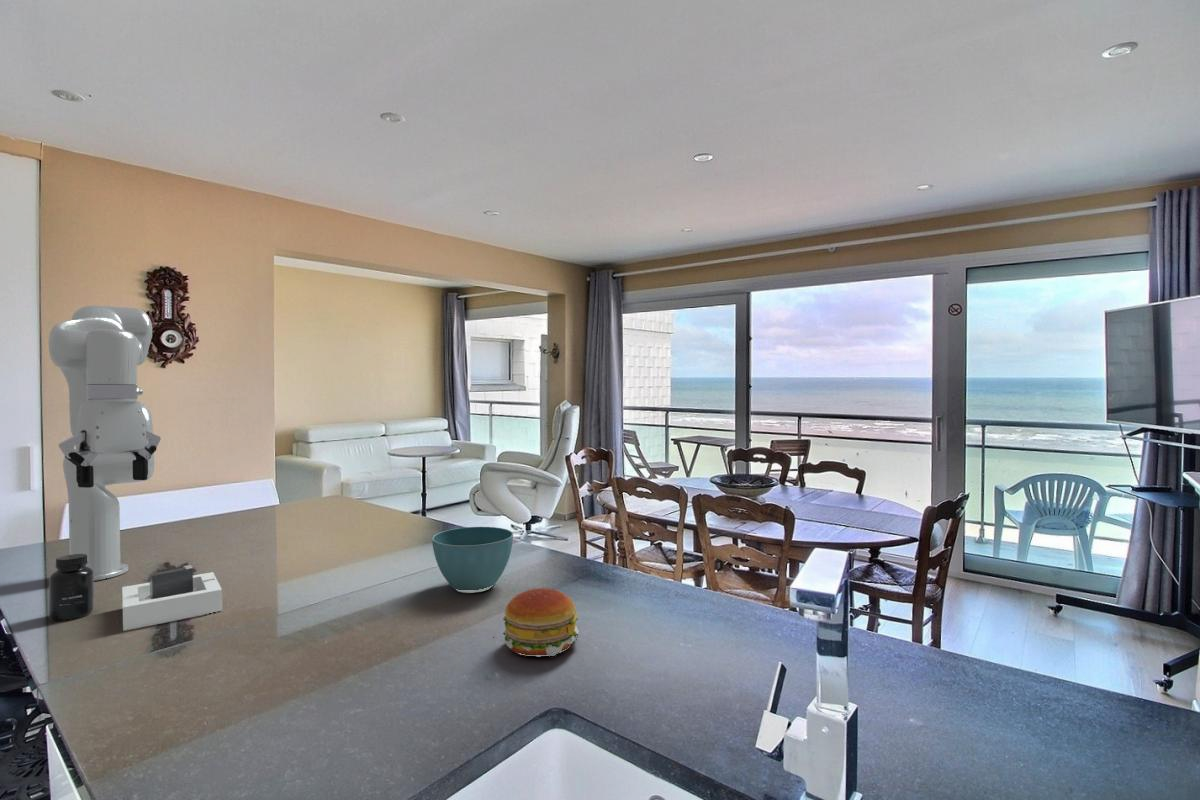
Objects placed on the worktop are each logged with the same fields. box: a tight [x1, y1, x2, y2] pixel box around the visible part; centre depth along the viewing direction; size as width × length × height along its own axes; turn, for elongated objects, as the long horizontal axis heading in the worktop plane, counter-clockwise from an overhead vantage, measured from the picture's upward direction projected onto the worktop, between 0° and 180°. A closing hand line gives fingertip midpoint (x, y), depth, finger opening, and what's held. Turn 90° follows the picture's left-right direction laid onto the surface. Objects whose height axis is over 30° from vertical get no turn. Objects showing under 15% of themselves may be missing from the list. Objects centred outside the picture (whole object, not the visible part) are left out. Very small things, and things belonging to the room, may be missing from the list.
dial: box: [145, 564, 198, 600], centre depth 124 cm, size 9×9×7 cm
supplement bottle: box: [48, 554, 95, 622], centre depth 121 cm, size 7×7×12 cm
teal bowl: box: [431, 526, 514, 590], centre depth 137 cm, size 18×18×12 cm
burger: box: [502, 587, 580, 657], centre depth 106 cm, size 13×14×10 cm
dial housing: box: [121, 571, 223, 632], centre depth 124 cm, size 15×16×5 cm
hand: (114, 483), depth 115 cm, fingers open, 9 cm apart
